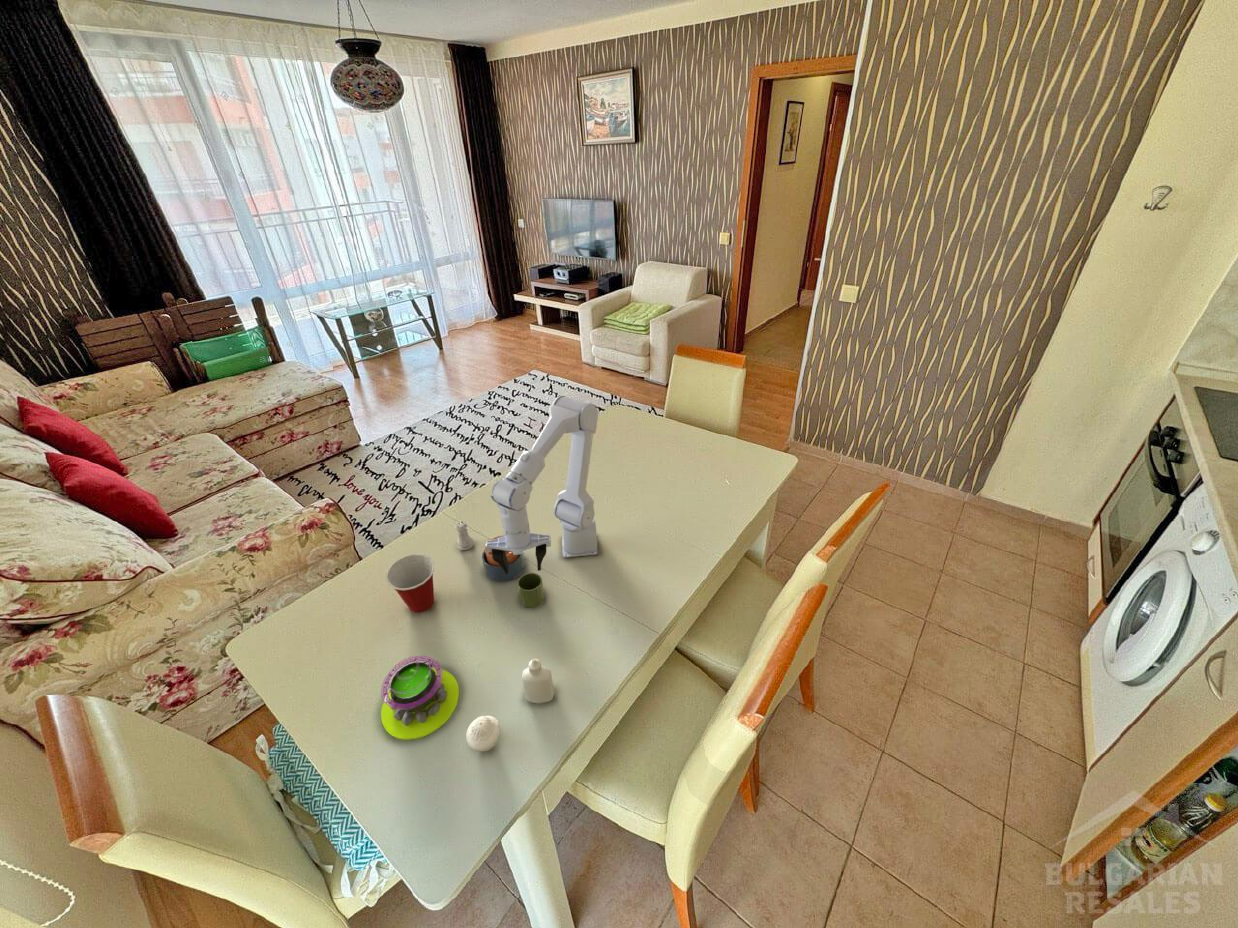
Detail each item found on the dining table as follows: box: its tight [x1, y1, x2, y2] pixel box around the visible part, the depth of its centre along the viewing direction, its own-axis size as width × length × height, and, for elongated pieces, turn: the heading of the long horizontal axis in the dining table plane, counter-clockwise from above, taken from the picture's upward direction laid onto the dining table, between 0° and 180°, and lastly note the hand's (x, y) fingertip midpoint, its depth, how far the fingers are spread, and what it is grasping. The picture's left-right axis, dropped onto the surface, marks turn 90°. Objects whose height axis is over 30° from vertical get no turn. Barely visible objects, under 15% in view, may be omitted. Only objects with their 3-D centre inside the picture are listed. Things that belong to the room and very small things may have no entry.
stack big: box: [481, 549, 526, 583], centre depth 129 cm, size 10×10×5 cm
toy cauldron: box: [380, 654, 460, 741], centre depth 96 cm, size 15×15×11 cm
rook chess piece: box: [454, 520, 475, 551], centre depth 135 cm, size 4×4×8 cm
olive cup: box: [517, 572, 545, 609], centre depth 119 cm, size 6×6×6 cm
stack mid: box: [484, 535, 519, 567], centre depth 128 cm, size 8×8×8 cm
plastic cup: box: [385, 552, 435, 614], centre depth 116 cm, size 11×11×12 cm
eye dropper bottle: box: [521, 657, 555, 704], centre depth 96 cm, size 4×6×12 cm
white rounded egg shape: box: [465, 715, 501, 752], centre depth 90 cm, size 6×6×7 cm
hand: (523, 569), depth 117 cm, fingers open, 7 cm apart
